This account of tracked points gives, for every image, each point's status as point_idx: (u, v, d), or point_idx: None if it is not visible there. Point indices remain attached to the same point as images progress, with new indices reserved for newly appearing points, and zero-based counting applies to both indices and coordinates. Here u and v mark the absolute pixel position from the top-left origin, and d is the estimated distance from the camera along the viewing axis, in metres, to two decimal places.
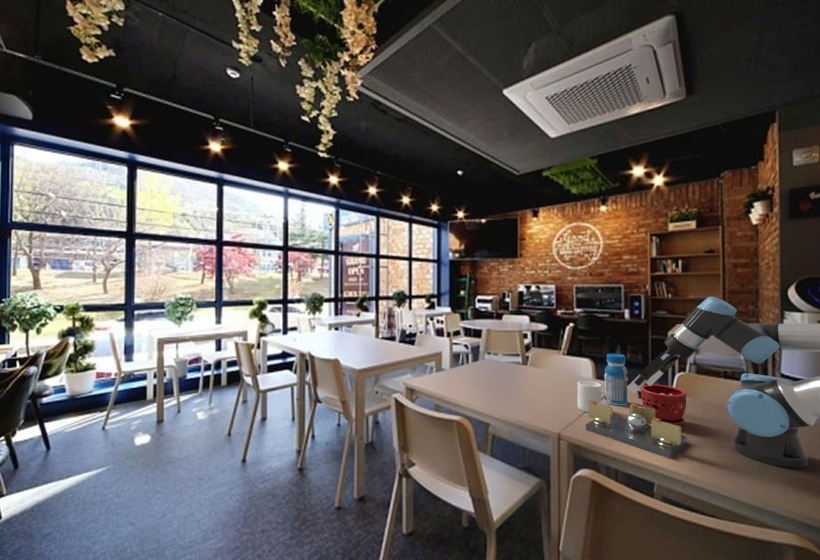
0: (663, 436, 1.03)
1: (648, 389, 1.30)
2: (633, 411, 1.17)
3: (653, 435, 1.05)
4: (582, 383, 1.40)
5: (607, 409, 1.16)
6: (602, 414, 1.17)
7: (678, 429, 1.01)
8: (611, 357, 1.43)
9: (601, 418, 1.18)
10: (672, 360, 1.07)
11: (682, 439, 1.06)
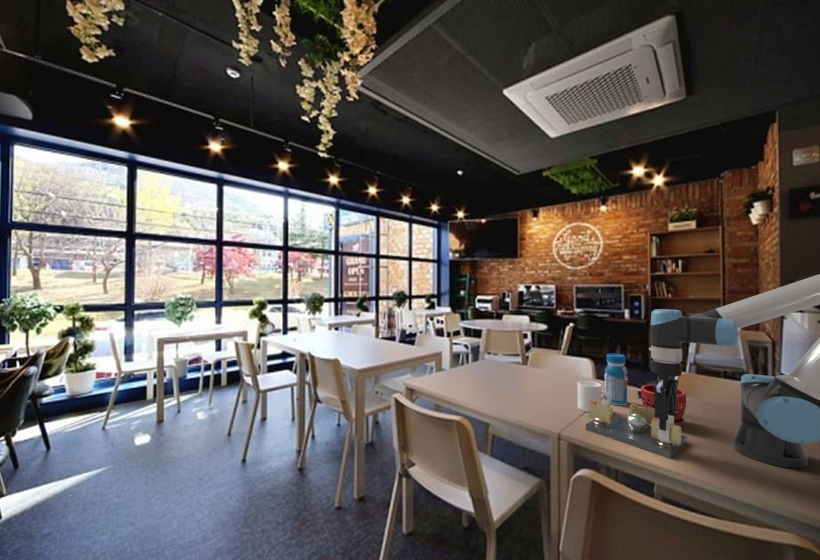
0: None
1: (648, 389, 1.30)
2: (633, 411, 1.17)
3: (653, 435, 1.05)
4: (582, 383, 1.40)
5: (607, 409, 1.16)
6: (602, 414, 1.17)
7: (678, 429, 1.01)
8: (611, 357, 1.43)
9: (601, 418, 1.18)
10: (670, 386, 1.01)
11: (682, 439, 1.06)
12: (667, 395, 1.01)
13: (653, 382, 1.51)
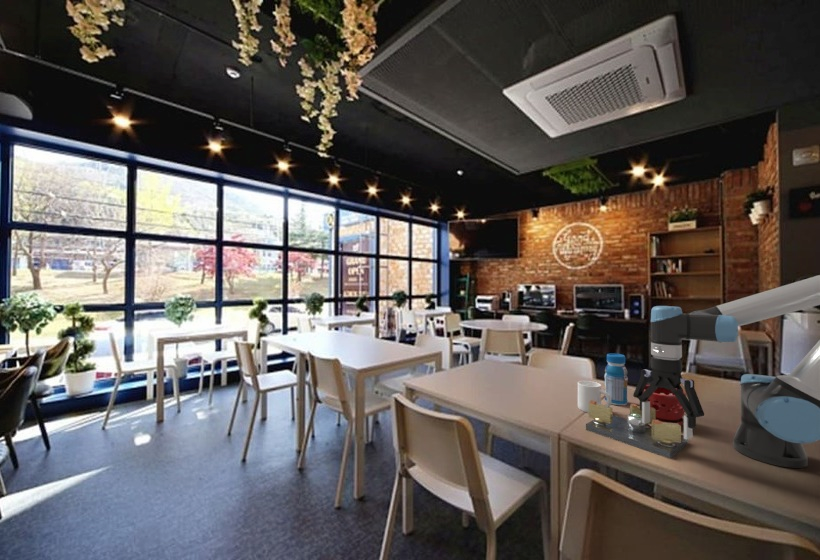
0: (666, 437, 1.03)
1: None
2: (633, 411, 1.17)
3: (656, 438, 1.03)
4: (582, 383, 1.40)
5: (607, 409, 1.16)
6: (602, 414, 1.17)
7: (679, 427, 1.02)
8: (611, 357, 1.43)
9: (601, 418, 1.18)
10: None
11: (682, 439, 1.06)
12: (681, 390, 1.01)
13: None
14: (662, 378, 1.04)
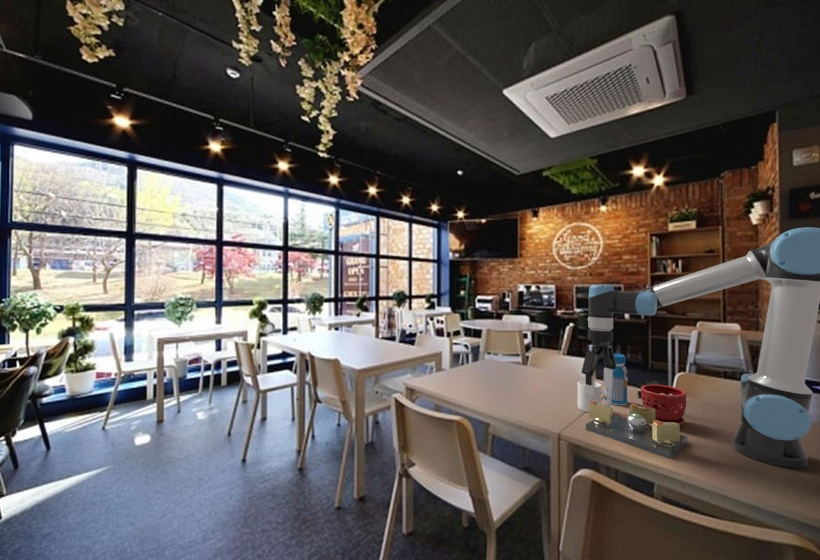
0: (667, 437, 1.03)
1: (648, 389, 1.30)
2: (633, 411, 1.17)
3: (658, 439, 1.03)
4: (582, 383, 1.40)
5: (607, 409, 1.16)
6: (602, 414, 1.17)
7: (678, 426, 1.03)
8: None
9: (601, 418, 1.18)
10: (601, 349, 1.16)
11: (682, 439, 1.06)
12: (597, 356, 1.16)
13: (653, 382, 1.51)
14: None
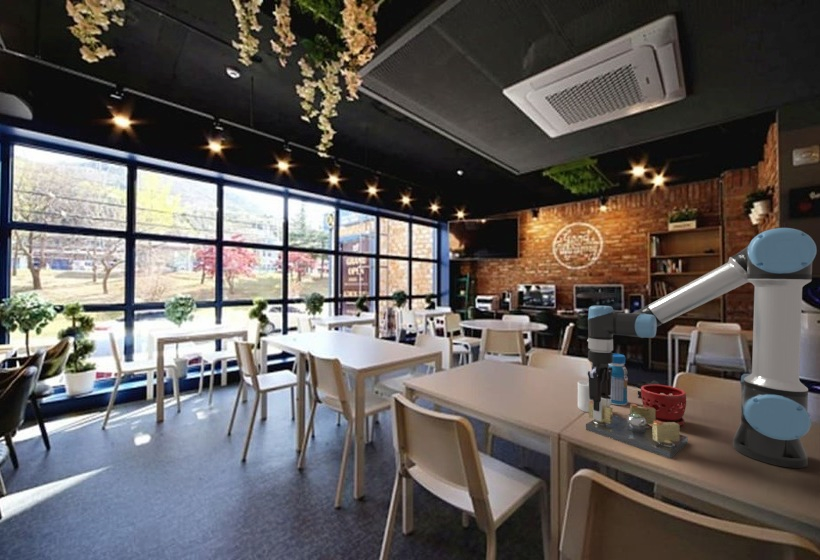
0: (667, 437, 1.03)
1: (648, 389, 1.30)
2: (633, 411, 1.17)
3: (659, 439, 1.03)
4: (582, 383, 1.40)
5: (607, 409, 1.16)
6: (602, 414, 1.17)
7: (678, 425, 1.03)
8: None
9: None
10: (602, 372, 1.16)
11: (682, 439, 1.06)
12: (600, 380, 1.17)
13: (653, 382, 1.51)
14: None
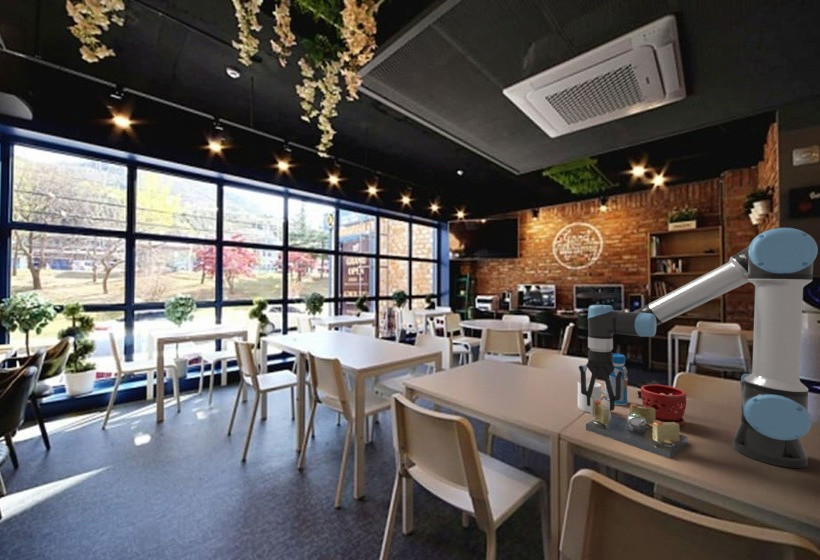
0: (667, 437, 1.03)
1: (648, 389, 1.30)
2: (633, 411, 1.17)
3: (659, 439, 1.03)
4: None
5: (601, 409, 1.16)
6: (599, 414, 1.18)
7: (678, 425, 1.03)
8: None
9: (598, 418, 1.18)
10: (593, 369, 1.19)
11: (682, 439, 1.06)
12: (591, 377, 1.20)
13: (653, 382, 1.51)
14: None
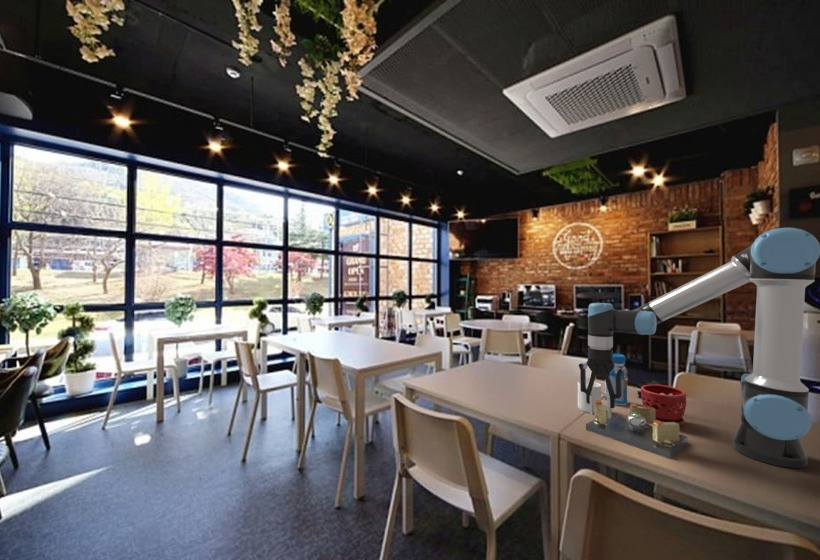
0: (667, 437, 1.03)
1: (648, 389, 1.30)
2: (633, 411, 1.17)
3: (659, 439, 1.03)
4: None
5: (599, 409, 1.16)
6: (598, 413, 1.18)
7: (678, 425, 1.03)
8: None
9: (598, 417, 1.18)
10: (592, 367, 1.19)
11: (682, 439, 1.06)
12: (591, 375, 1.20)
13: (653, 382, 1.51)
14: None
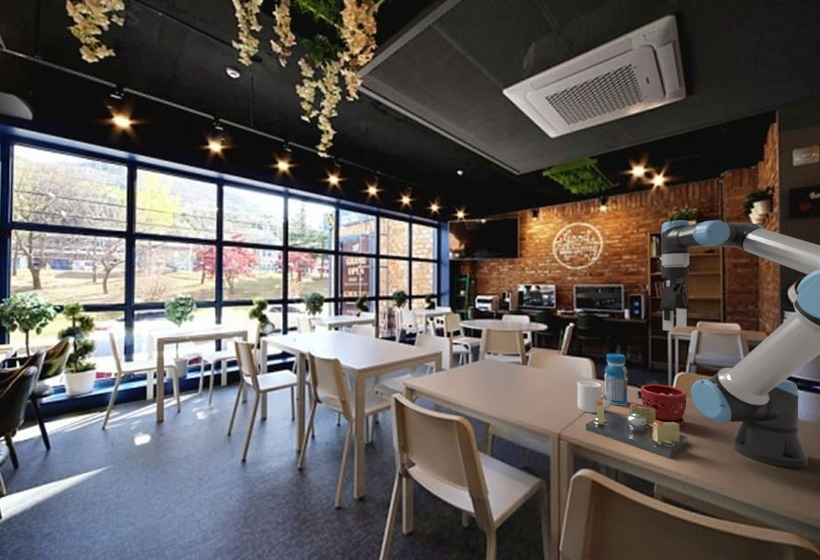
0: (667, 437, 1.03)
1: (648, 389, 1.30)
2: (633, 411, 1.17)
3: (659, 439, 1.03)
4: (582, 383, 1.40)
5: (597, 408, 1.17)
6: (597, 413, 1.18)
7: (678, 425, 1.03)
8: (611, 357, 1.43)
9: (597, 417, 1.19)
10: (678, 285, 1.15)
11: (682, 439, 1.06)
12: (674, 292, 1.14)
13: (653, 382, 1.51)
14: None
